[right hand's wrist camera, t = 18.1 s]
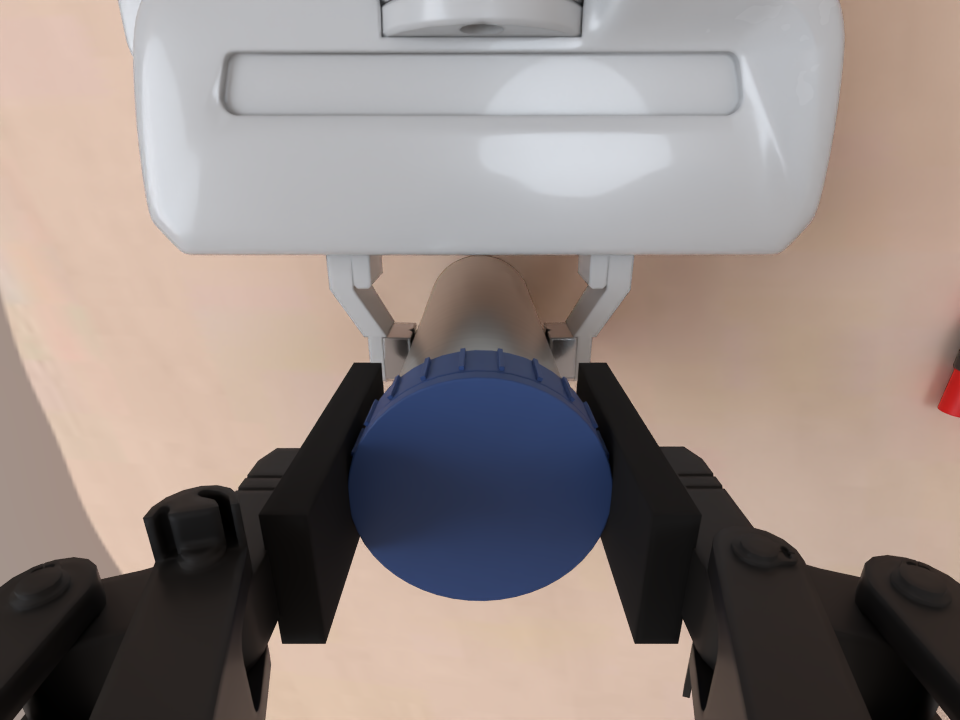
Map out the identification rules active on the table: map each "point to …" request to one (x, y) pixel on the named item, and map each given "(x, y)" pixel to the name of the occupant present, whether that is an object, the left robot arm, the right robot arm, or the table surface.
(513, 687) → the table surface
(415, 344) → the thermos
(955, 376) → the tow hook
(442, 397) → the lid
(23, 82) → the table surface
